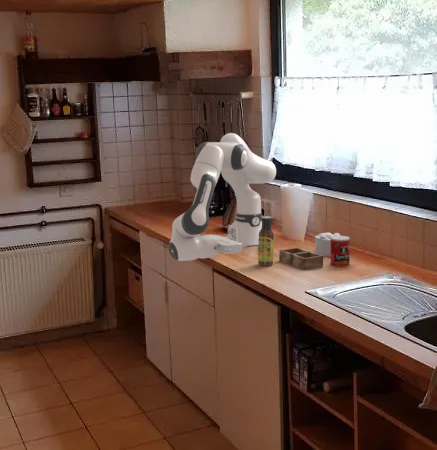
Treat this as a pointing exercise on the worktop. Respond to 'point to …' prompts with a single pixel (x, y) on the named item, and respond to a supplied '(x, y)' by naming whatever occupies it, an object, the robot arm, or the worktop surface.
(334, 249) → the canned food
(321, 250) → the lumpy-topped squat cylinder
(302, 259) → the box
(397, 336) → the worktop surface
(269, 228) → the sauce bottle
